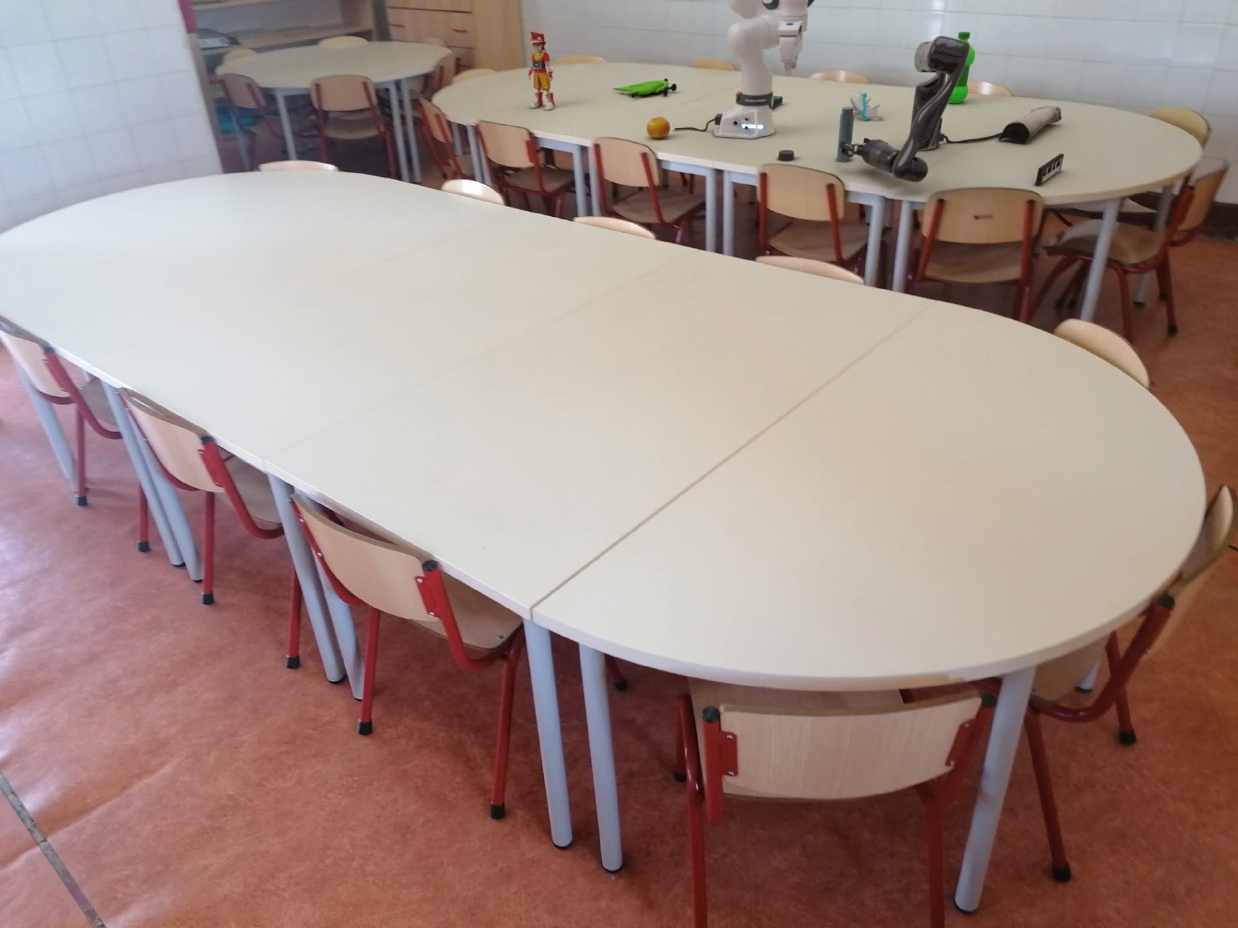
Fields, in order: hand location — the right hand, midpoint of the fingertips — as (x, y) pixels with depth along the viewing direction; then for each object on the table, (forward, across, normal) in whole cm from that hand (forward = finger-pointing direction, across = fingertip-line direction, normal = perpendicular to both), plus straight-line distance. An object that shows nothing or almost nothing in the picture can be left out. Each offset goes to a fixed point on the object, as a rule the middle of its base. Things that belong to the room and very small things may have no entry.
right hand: (852, 142), depth 293 cm
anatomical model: (+50, -35, +6) cm, 61 cm away
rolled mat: (+2, -72, +7) cm, 73 cm away
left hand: (+15, +16, -21) cm, 30 cm away
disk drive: (+83, -9, +6) cm, 84 cm away
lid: (+15, +16, +5) cm, 23 cm away
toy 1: (+130, +72, +6) cm, 149 cm away
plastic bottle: (+51, -76, +6) cm, 92 cm away
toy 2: (+135, +26, +6) cm, 137 cm away
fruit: (+62, +45, +7) cm, 77 cm away
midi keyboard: (-41, -44, +7) cm, 61 cm away
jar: (+5, 0, +7) cm, 8 cm away
